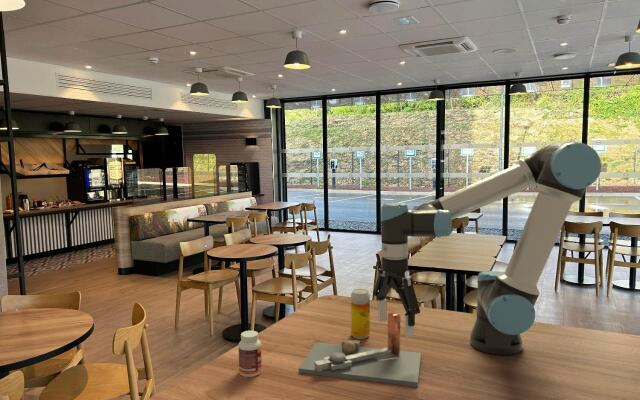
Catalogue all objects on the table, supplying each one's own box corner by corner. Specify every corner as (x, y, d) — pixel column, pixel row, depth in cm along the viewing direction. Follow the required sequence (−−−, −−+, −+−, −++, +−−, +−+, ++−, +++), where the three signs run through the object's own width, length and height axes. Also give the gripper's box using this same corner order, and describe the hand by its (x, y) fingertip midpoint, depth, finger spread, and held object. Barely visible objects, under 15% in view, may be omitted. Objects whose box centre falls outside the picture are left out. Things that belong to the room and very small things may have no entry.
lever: (320, 374, 125) (320, 332, 124) (311, 365, 130) (311, 325, 129) (404, 354, 136) (404, 316, 135) (393, 347, 141) (394, 310, 140)
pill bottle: (263, 376, 127) (262, 337, 126) (239, 379, 126) (238, 339, 124) (260, 366, 133) (259, 328, 132) (238, 368, 132) (237, 330, 130)
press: (421, 356, 138) (421, 341, 138) (417, 386, 121) (417, 369, 120) (316, 345, 146) (315, 331, 146) (298, 372, 129) (298, 355, 128)
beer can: (368, 340, 150) (368, 294, 148) (349, 338, 151) (349, 293, 150) (370, 333, 156) (370, 289, 154) (352, 331, 157) (352, 288, 156)
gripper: (361, 250, 144) (362, 317, 147) (409, 267, 122) (410, 346, 124) (382, 247, 147) (383, 313, 150) (433, 264, 125) (433, 340, 127)
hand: (395, 328), depth 137 cm, fingers open, 13 cm apart
